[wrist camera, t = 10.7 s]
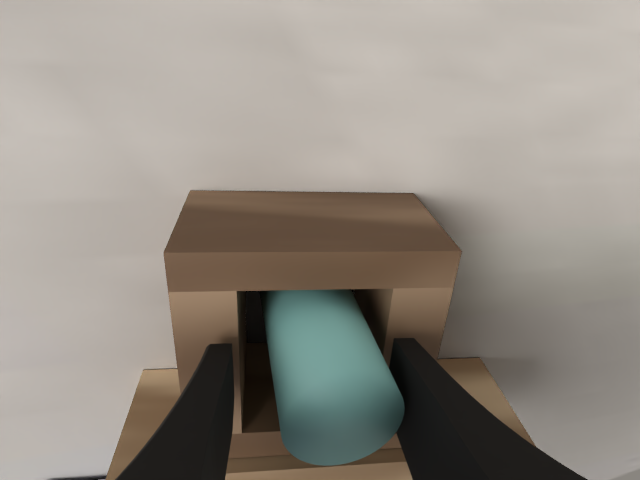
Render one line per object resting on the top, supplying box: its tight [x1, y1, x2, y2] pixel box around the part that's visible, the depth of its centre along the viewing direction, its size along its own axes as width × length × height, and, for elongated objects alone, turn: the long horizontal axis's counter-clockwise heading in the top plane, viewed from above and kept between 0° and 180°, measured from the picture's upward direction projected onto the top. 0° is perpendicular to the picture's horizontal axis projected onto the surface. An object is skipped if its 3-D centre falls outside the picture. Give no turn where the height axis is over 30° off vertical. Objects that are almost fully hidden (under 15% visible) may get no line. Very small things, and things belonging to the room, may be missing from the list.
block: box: [164, 191, 462, 459], centre depth 15 cm, size 8×8×4 cm
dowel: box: [260, 289, 405, 466], centre depth 14 cm, size 3×3×7 cm
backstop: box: [105, 358, 536, 480], centre depth 18 cm, size 2×15×5 cm, turn 87°
